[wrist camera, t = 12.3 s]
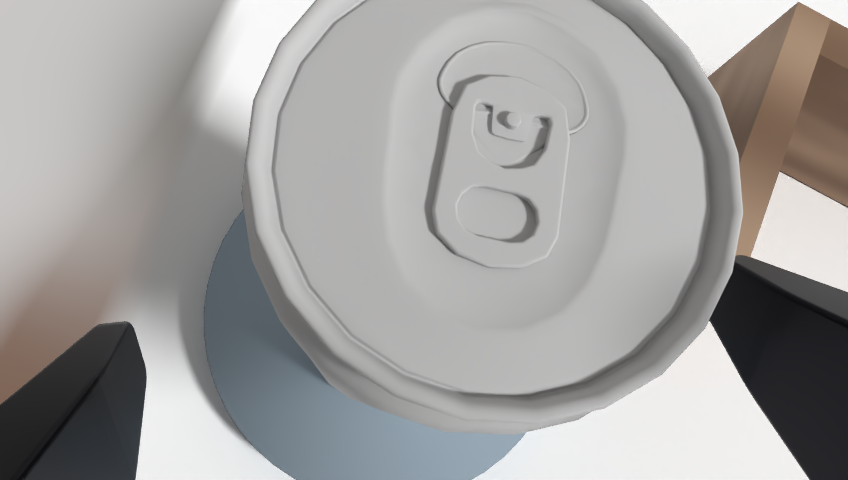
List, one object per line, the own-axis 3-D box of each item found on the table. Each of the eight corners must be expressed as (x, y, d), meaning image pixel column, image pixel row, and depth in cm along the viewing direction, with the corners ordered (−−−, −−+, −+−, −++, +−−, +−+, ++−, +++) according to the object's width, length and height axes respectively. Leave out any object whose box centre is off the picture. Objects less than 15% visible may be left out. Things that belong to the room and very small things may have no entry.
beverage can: (486, 252, 18) (767, -4, 6) (458, 422, 17) (747, 491, 5) (322, 216, 17) (302, -129, 6) (281, 388, 16) (150, 380, 5)
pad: (285, 565, 16) (282, 573, 15) (160, 218, 17) (152, 210, 17) (608, 405, 18) (621, 405, 17) (471, 111, 20) (477, 99, 19)
